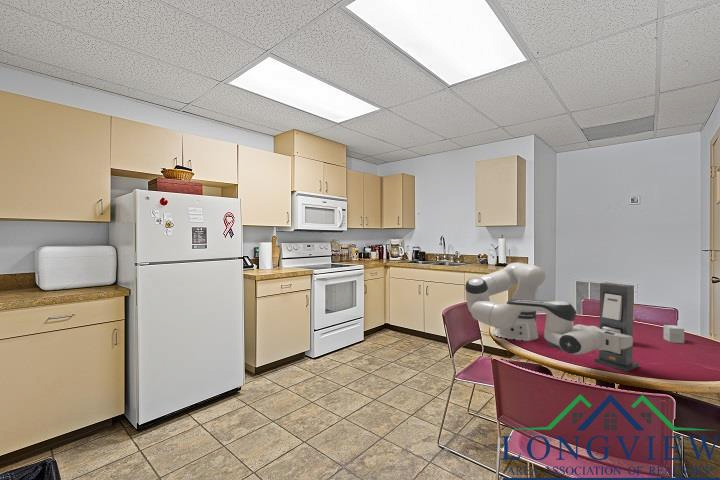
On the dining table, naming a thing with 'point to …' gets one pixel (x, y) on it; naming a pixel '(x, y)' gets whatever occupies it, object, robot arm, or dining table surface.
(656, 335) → the dining table surface
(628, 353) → the power strip
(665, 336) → the skincare box
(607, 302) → the white rocker switch
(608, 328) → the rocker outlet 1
